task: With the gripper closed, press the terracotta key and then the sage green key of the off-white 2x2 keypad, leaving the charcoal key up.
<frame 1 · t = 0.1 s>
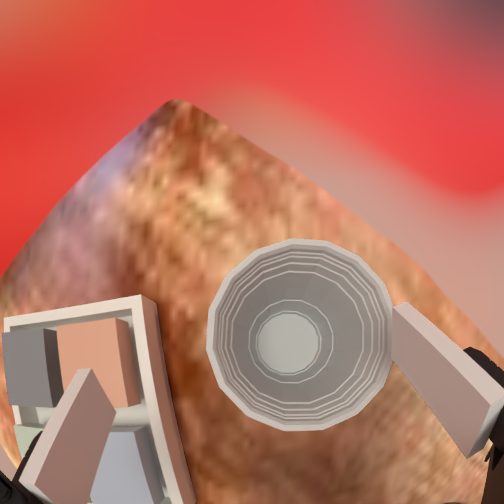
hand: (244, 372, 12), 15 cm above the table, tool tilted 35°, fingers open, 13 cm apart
key sage: (50, 460, 19), point 5 cm above the table, slide at 0.0 cm
key charcoal: (32, 369, 22), point 5 cm above the table, slide at 0.0 cm
key terracotta: (96, 365, 22), point 5 cm above the table, slide at 0.0 cm
key slate: (117, 467, 19), point 5 cm above the table, slide at 0.0 cm
plastic cup: (290, 344, 27), on the table
keypad: (95, 411, 25), on the table
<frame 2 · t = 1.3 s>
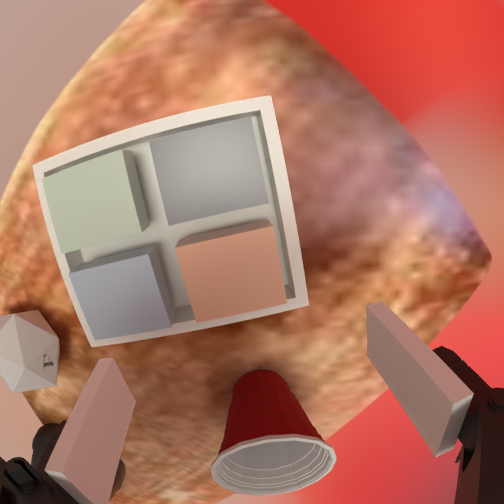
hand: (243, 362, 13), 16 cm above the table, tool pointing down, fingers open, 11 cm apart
key sage: (94, 201, 21), point 5 cm above the table, slide at 0.0 cm
key charcoal: (209, 170, 22), point 5 cm above the table, slide at 0.0 cm
die: (41, 331, 29), on the table
key terracotta: (232, 271, 24), point 5 cm above the table, slide at 0.0 cm
key slate: (122, 294, 24), point 5 cm above the table, slide at 0.0 cm
plastic cup: (259, 389, 33), on the table
keypad: (171, 224, 27), on the table
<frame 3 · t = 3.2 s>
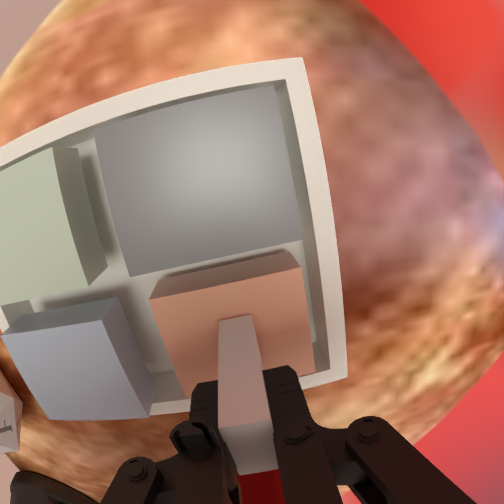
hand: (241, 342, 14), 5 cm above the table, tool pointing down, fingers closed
key sage: (24, 231, 12), point 5 cm above the table, slide at 0.0 cm
key charcoal: (198, 179, 12), point 5 cm above the table, slide at 0.0 cm
key terracotta: (236, 328, 16), point 3 cm above the table, slide at 1.3 cm, touching gripper
key slate: (77, 365, 14), point 5 cm above the table, slide at 0.0 cm
plastic cup: (269, 455, 24), on the table
keypad: (145, 257, 18), on the table
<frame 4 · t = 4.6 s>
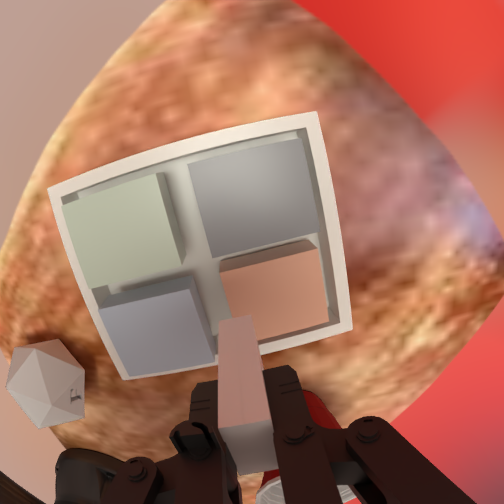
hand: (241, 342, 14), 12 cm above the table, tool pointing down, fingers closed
key sage: (123, 230, 20), point 5 cm above the table, slide at 0.0 cm
key charcoal: (254, 195, 20), point 5 cm above the table, slide at 0.0 cm
die: (62, 360, 28), on the table
key terracotta: (275, 292, 24), point 3 cm above the table, slide at 1.6 cm
key slate: (158, 328, 22), point 5 cm above the table, slide at 0.0 cm
plastic cup: (294, 408, 32), on the table
keypad: (205, 248, 26), on the table
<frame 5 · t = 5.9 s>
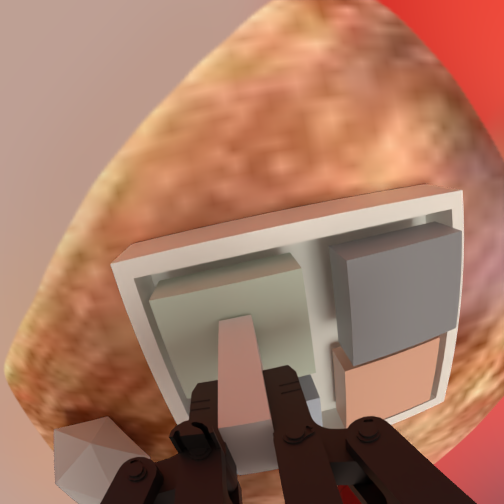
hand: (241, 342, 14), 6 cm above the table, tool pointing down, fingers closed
key sage: (237, 329, 16), point 4 cm above the table, slide at 0.4 cm, touching gripper
key charcoal: (400, 290, 16), point 5 cm above the table, slide at 0.0 cm
die: (110, 435, 23), on the table
key terracotta: (386, 377, 19), point 3 cm above the table, slide at 1.6 cm
key slate: (264, 429, 18), point 5 cm above the table, slide at 0.0 cm
keypad: (309, 329, 21), on the table
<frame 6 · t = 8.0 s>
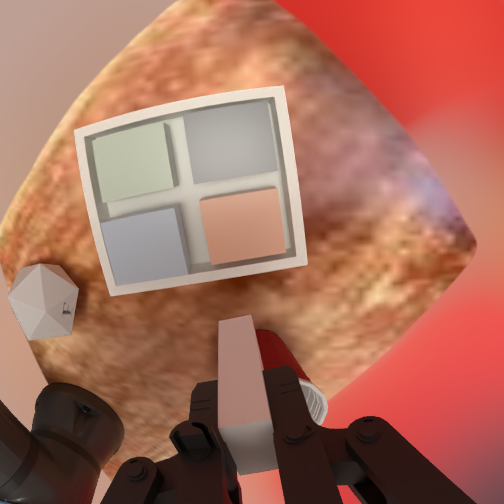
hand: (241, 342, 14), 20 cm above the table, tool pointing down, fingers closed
key sage: (135, 162, 27), point 3 cm above the table, slide at 1.6 cm
key charcoal: (230, 142, 26), point 5 cm above the table, slide at 0.0 cm
die: (59, 287, 33), on the table
key terracotta: (243, 224, 30), point 3 cm above the table, slide at 1.6 cm
key slate: (146, 244, 28), point 5 cm above the table, slide at 0.0 cm
plastic cup: (258, 349, 37), on the table
keypad: (191, 189, 31), on the table
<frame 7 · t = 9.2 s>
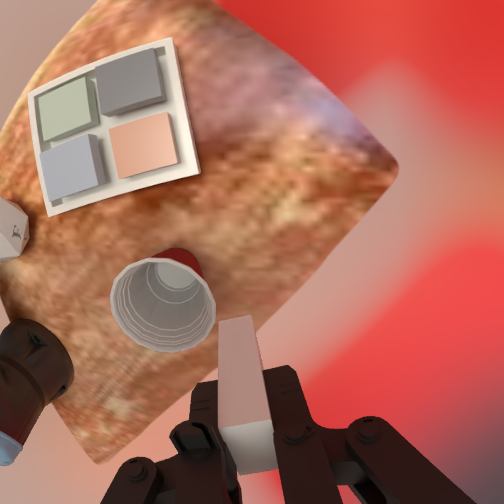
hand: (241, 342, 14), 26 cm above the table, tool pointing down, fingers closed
key sage: (67, 110, 31), point 3 cm above the table, slide at 1.6 cm
key charcoal: (129, 82, 29), point 5 cm above the table, slide at 0.0 cm
die: (17, 224, 37), on the table
key terracotta: (144, 145, 33), point 3 cm above the table, slide at 1.6 cm
key slate: (71, 168, 31), point 5 cm above the table, slide at 0.0 cm
plastic cup: (177, 269, 41), on the table
keypad: (112, 128, 35), on the table
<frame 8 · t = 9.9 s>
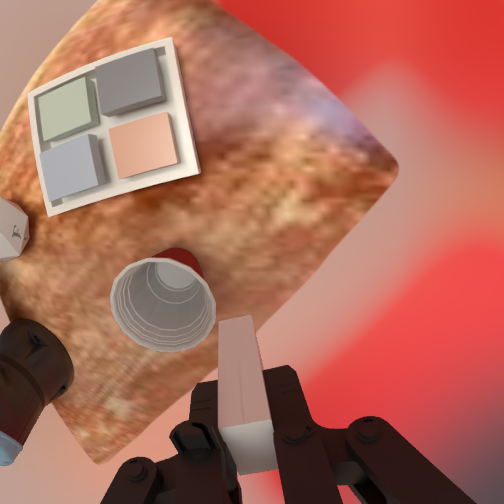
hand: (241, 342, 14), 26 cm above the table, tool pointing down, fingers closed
key sage: (67, 110, 31), point 3 cm above the table, slide at 1.6 cm
key charcoal: (129, 82, 29), point 5 cm above the table, slide at 0.0 cm
die: (17, 224, 37), on the table
key terracotta: (144, 145, 33), point 3 cm above the table, slide at 1.6 cm
key slate: (71, 168, 31), point 5 cm above the table, slide at 0.0 cm
plastic cup: (177, 269, 41), on the table
keypad: (112, 128, 35), on the table
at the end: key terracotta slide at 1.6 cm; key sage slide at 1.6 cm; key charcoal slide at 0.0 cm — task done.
